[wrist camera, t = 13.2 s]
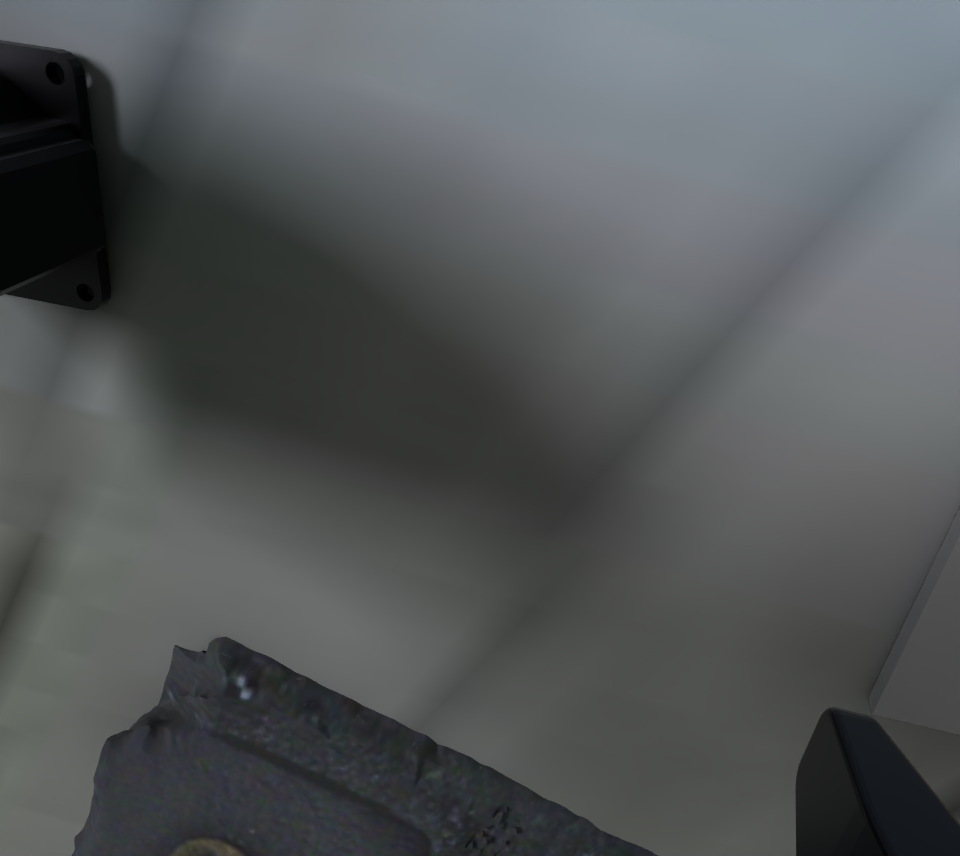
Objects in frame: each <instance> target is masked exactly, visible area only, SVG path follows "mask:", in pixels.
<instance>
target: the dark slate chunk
mask: <svg viewBox="0 0 960 856" xmlns="http://www.w3.org/2000/svg"><path fill="white" fill-rule="evenodd" d="M72 856H657V855H656V854H654V853H652V852H651V851H649V850H647V849H644V848H642V847H640V846H637V845H635V844H632V843H630V842H627V841H624V840H622V839H620V838H618V837H615V836H612V835H610V834H608V833H606V832H603V831H601V830H599V829H598V828H596V827H595V826H594V825H593V824H592V823H591V822H590V821H588V820H587V819H585V818H583V817H580V816H577V815H575V814H574V813H572V812H571V811H569V810H568V809H567V808H565V807H563V806H561V805H559V804H557V803H555V802H552V801H549V800H546V799H544V798H543V797H541V796H539V795H538V794H536V793H535V792H533V791H532V790H530V789H528V788H527V787H525V786H523V785H521V784H519V783H517V782H515V781H513V780H511V779H509V778H508V777H506V776H504V775H503V774H501V773H499V772H498V771H496V770H494V769H493V768H491V767H488V766H485V765H482V764H480V763H478V762H477V761H475V760H474V759H472V758H471V757H469V756H467V755H464V754H462V753H459V752H457V751H455V750H453V749H450V748H448V747H445V746H442V745H438V744H436V743H435V742H434V741H433V740H432V739H431V738H430V737H428V736H426V735H424V734H421V733H418V732H416V731H413V730H411V729H409V728H408V727H406V726H404V725H402V724H401V723H399V722H397V721H396V720H394V719H392V718H389V717H387V716H384V715H382V714H380V713H378V712H376V711H374V710H371V709H369V708H367V707H364V706H363V705H361V704H359V703H358V702H356V701H354V700H352V699H350V698H348V697H346V696H344V695H341V694H339V693H337V692H335V691H332V690H330V689H328V688H326V687H324V686H322V685H320V684H318V683H317V682H315V681H313V680H311V679H310V678H308V677H306V676H303V675H300V674H298V673H296V672H294V671H292V670H291V669H289V668H287V667H286V666H284V665H282V664H281V663H279V662H277V661H276V660H274V659H272V658H270V657H268V656H266V655H263V654H261V653H258V652H255V651H253V650H251V649H249V648H247V647H245V646H243V645H242V644H240V643H238V642H236V641H234V640H232V639H230V638H228V637H221V638H217V639H215V640H213V641H211V642H210V643H209V646H208V650H207V652H204V651H201V652H195V651H191V650H187V649H184V648H181V647H179V646H177V645H175V646H174V649H173V655H172V661H171V666H170V670H169V673H168V675H167V677H166V680H165V684H164V688H163V693H162V696H161V699H160V702H159V704H158V706H156V707H154V708H153V709H152V710H151V711H150V712H149V713H147V714H144V715H143V716H142V717H141V718H139V719H138V721H137V722H136V723H135V724H134V725H133V726H132V727H131V728H130V729H129V730H125V731H122V732H120V733H118V734H115V735H113V736H111V737H109V738H108V739H107V740H106V742H105V744H104V746H103V748H102V751H101V754H100V758H99V762H98V766H97V769H96V772H95V775H94V794H93V797H92V803H91V809H90V813H89V816H88V818H87V821H86V823H85V826H84V828H83V829H82V830H81V832H80V833H79V834H78V835H76V837H75V850H74V853H73V854H72Z"/></svg>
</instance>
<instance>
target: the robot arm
mask: <svg viewBox="0 0 960 856" xmlns="http://www.w3.org/2000/svg"><path fill="white" fill-rule="evenodd" d="M57 64H59V65H60V66H61V67H62V68H63V70H64V73H65V81H64V82H63V81H62V80H61V79H60V78H59V76H58V74H57ZM105 245H106V235H105V227H104V218H103V210H102V202H101V193H100V185H99V176H98V168H97V159H96V152H95V150H94V147H93V138H92V130H91V122H90V113H89V105H88V97H87V88H86V80H85V74H84V70H83V66H82V65H81V63H80V61H79V60H78V58H77V57H75V56H74V55H73V54H72V53H71V52H68V51H66V50H63V49H56V48H49V47H42V46H36V45H29V44H22V43H15V42H9V41H2V40H0V296H1V295H3V294H8V295H13V296H18V297H23V298H28V299H33V300H38V301H44V302H49V303H54V304H59V305H64V306H69V307H74V308H79V309H85V310H95V309H96V308H98V307H100V306H102V305H104V304H106V303H107V302H108V301H109V299H110V296H111V289H110V280H109V272H108V263H107V255H106V247H105ZM86 285H88V286H89V287H90V288H91V289H92V291H93V294H94V296H92V295H90V293H89V292H88V291H87V289H86ZM796 856H960V823H959V822H958V821H957V820H956V818H955V817H954V816H953V815H952V813H951V812H950V811H949V810H948V809H947V807H946V806H945V805H944V804H943V802H942V801H941V800H940V799H939V797H938V796H937V795H936V794H935V792H934V791H933V790H932V789H931V787H930V786H929V785H928V784H927V782H926V781H925V780H924V779H923V777H922V776H921V775H920V774H919V772H918V771H917V770H916V769H915V767H914V766H913V765H912V764H911V763H910V761H909V760H908V759H907V758H906V756H905V755H904V754H903V753H902V751H901V750H900V749H899V748H898V746H897V745H896V744H895V743H894V741H893V740H892V739H891V738H890V736H889V735H888V734H887V733H886V731H885V730H884V729H883V728H882V726H881V725H880V724H879V723H878V722H877V721H876V720H875V719H873V718H872V717H870V716H868V715H865V714H860V713H856V712H852V711H848V710H844V709H839V708H828V709H826V710H825V711H824V712H823V714H822V715H821V717H820V719H819V721H818V723H817V725H816V728H815V730H814V732H813V734H812V737H811V739H810V741H809V743H808V746H807V748H806V750H805V752H804V754H803V757H802V759H801V761H800V764H799V767H798V771H797V777H796Z"/></svg>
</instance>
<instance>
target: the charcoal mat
mask: <svg viewBox="0 0 960 856" xmlns="http://www.w3.org/2000/svg"><path fill="white" fill-rule="evenodd" d="M868 701H869V705H870V709H871V713H872V715H876V716H881V717H885V718H889V719H893V720H898V721H902V722H906V723H910V724H915V725H919V726H923V727H927V728H932V729H936V730H940V731H944V732H949V733H953V734H957V735H960V508H959V510H958V512H957V514H956V516H955V518H954V520H953V522H952V524H951V526H950V529H949V531H948V533H947V535H946V537H945V539H944V541H943V543H942V545H941V547H940V549H939V551H938V554H937V556H936V558H935V560H934V562H933V564H932V566H931V568H930V570H929V572H928V574H927V576H926V578H925V581H924V583H923V585H922V587H921V589H920V591H919V593H918V595H917V597H916V599H915V601H914V603H913V606H912V608H911V610H910V612H909V614H908V616H907V618H906V620H905V622H904V624H903V626H902V628H901V631H900V633H899V635H898V637H897V639H896V641H895V643H894V645H893V647H892V649H891V651H890V653H889V656H888V658H887V660H886V662H885V664H884V666H883V668H882V670H881V672H880V674H879V676H878V678H877V680H876V683H875V685H874V687H873V689H872V691H871V693H870V695H869V697H868Z"/></svg>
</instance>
